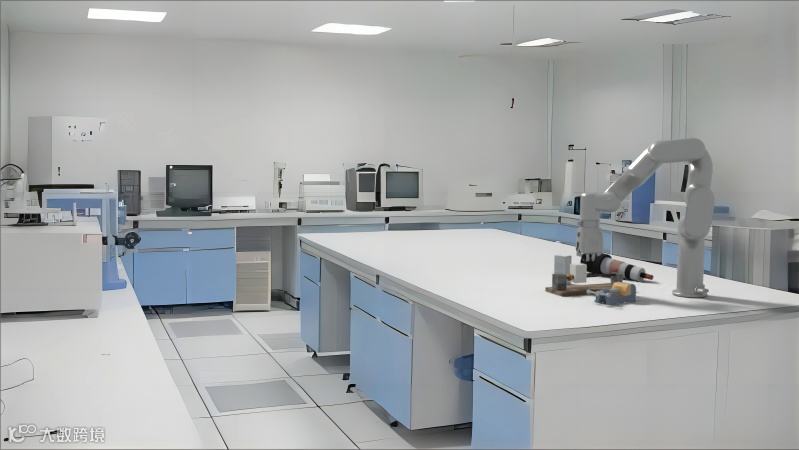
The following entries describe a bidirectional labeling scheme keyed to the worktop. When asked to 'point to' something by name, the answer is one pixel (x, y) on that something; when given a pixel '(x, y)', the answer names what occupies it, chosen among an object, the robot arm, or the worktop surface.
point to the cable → (617, 268)
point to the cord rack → (562, 289)
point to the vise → (616, 294)
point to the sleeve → (578, 272)
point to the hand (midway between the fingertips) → (588, 270)
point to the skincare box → (562, 264)
